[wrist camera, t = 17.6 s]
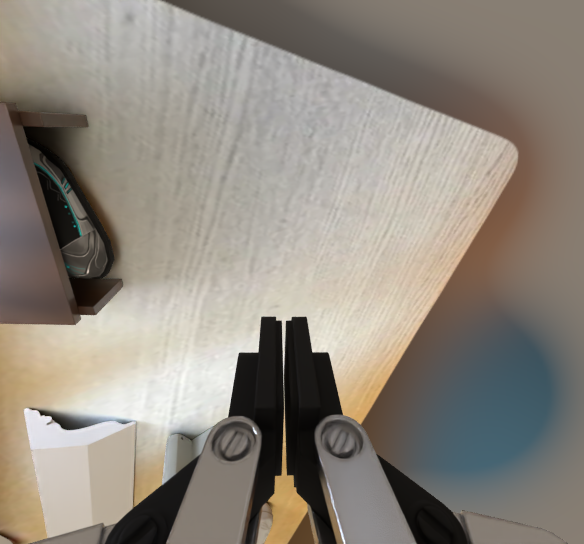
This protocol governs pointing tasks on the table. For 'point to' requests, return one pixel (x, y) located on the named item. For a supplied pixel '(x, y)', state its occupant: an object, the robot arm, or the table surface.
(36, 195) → the cubby shelf
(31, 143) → the computer mouse
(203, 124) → the table surface
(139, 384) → the table surface
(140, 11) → the table surface
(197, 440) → the digital clock
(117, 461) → the molding piece
